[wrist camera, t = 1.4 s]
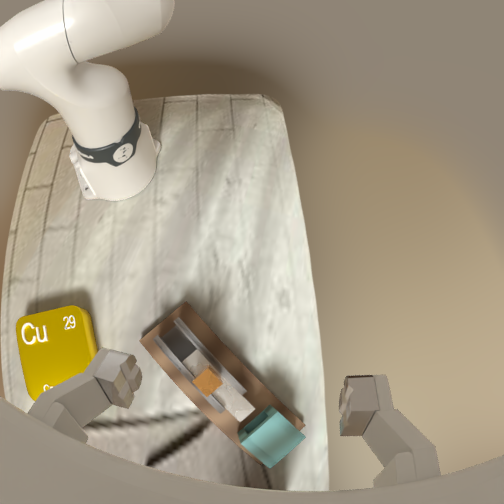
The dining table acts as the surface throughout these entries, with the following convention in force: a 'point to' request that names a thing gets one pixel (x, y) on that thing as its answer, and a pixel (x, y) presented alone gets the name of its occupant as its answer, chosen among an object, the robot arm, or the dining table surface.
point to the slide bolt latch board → (237, 374)
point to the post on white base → (217, 386)
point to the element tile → (54, 346)
